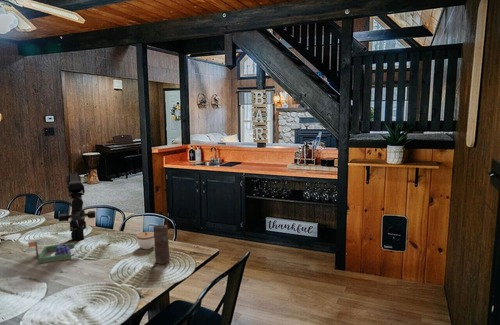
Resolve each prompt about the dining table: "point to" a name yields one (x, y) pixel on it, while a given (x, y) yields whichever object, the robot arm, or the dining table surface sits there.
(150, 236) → the lidded jar
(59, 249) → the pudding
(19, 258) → the dining table surface
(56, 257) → the frame
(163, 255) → the candle
